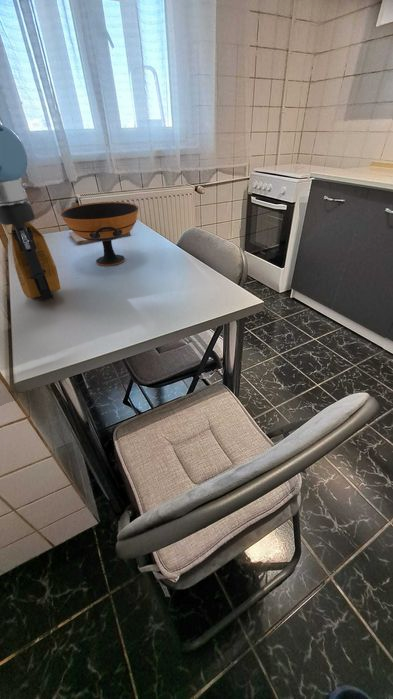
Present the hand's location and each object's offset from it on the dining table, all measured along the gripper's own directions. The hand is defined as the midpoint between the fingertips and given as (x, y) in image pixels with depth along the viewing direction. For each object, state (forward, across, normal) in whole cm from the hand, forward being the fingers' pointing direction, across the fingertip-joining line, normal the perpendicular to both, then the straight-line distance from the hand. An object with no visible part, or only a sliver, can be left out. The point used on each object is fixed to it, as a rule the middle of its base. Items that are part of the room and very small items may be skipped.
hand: (47, 298), depth 79 cm
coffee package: (+2, +6, 0) cm, 7 cm away
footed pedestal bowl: (+4, +27, -25) cm, 37 cm away
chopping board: (+4, +62, -31) cm, 69 cm away
